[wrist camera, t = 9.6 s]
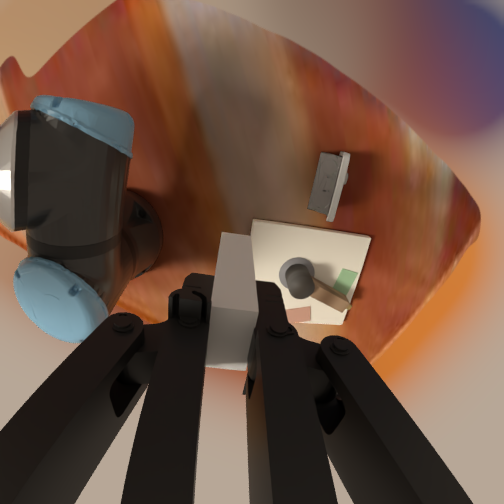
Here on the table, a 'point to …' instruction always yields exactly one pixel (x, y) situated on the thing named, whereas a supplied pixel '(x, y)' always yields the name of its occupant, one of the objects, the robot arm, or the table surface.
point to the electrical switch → (329, 183)
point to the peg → (314, 288)
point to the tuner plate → (308, 264)
